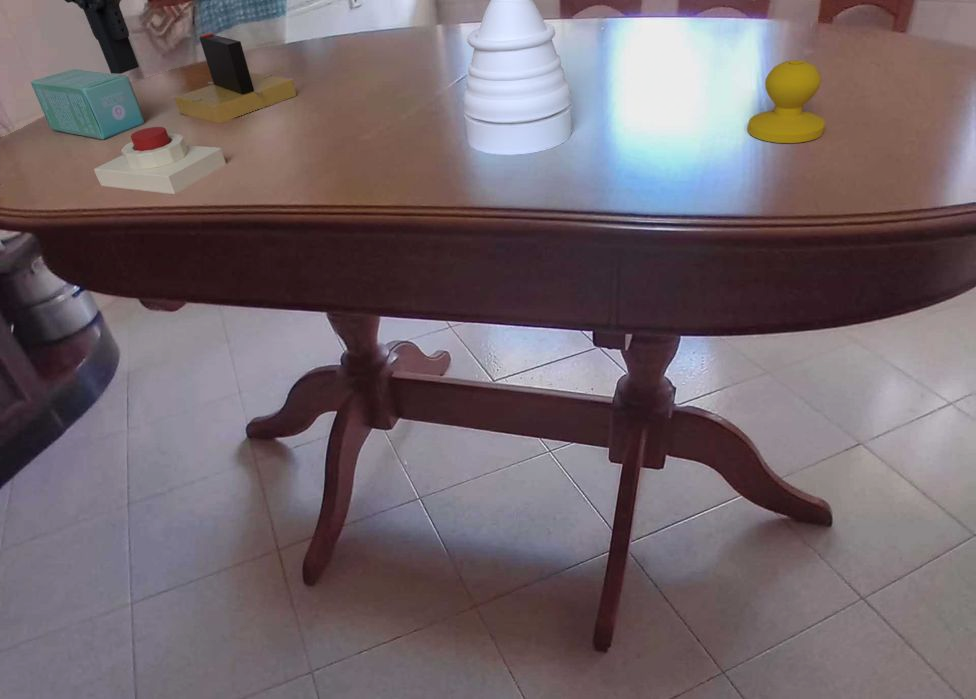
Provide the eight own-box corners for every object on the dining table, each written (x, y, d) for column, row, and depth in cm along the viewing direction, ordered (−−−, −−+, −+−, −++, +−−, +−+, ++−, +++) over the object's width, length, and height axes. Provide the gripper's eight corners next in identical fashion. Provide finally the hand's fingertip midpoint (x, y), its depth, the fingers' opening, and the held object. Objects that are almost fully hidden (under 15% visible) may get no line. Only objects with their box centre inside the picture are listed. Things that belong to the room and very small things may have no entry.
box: (104, 141, 99) (81, 87, 95) (50, 132, 106) (27, 81, 101) (147, 124, 104) (128, 72, 100) (94, 117, 111) (73, 67, 106)
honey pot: (476, 119, 92) (461, -35, 82) (574, 115, 90) (572, -43, 79) (457, 156, 82) (437, -14, 71) (568, 153, 80) (563, -24, 69)
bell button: (128, 151, 83) (122, 137, 82) (153, 139, 86) (148, 125, 85) (153, 154, 82) (148, 139, 81) (178, 141, 85) (172, 127, 84)
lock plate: (225, 125, 100) (219, 106, 99) (173, 112, 108) (167, 95, 107) (303, 96, 109) (299, 79, 107) (250, 86, 116) (245, 70, 115)
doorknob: (786, 149, 75) (732, 130, 81) (839, 131, 78) (783, 114, 83) (798, 77, 70) (740, 62, 76) (854, 61, 73) (793, 48, 79)
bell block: (100, 186, 85) (86, 154, 83) (155, 158, 91) (143, 128, 89) (174, 194, 80) (162, 161, 78) (226, 164, 87) (216, 133, 85)
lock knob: (254, 91, 104) (240, 39, 100) (242, 94, 103) (227, 42, 99) (225, 81, 111) (210, 32, 106) (213, 84, 110) (198, 35, 105)
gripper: (105, -204, 65) (192, 61, 79) (12, -187, 70) (110, 60, 84) (36, -204, 60) (142, 81, 74) (-60, -185, 64) (57, 78, 78)
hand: (125, 69), depth 79 cm, fingers closed
